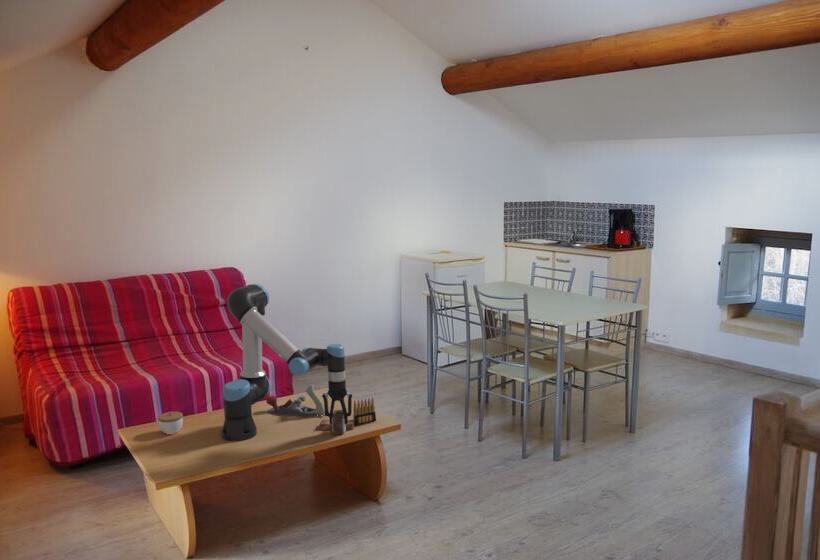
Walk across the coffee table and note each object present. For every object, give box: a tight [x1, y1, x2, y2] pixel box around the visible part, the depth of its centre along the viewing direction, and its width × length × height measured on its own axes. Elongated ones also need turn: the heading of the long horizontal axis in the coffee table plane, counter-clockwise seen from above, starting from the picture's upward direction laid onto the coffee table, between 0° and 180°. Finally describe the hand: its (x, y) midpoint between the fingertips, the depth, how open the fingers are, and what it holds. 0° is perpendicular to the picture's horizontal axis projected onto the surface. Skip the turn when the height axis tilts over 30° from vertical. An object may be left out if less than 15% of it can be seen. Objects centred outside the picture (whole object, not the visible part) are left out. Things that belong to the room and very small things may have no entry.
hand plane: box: [266, 383, 326, 418], centre depth 340 cm, size 7×31×15 cm, turn 73°
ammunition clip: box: [352, 396, 377, 427], centre depth 324 cm, size 11×2×12 cm, turn 119°
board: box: [318, 419, 355, 430], centre depth 320 cm, size 15×6×2 cm, turn 86°
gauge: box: [332, 408, 344, 435], centre depth 315 cm, size 4×10×10 cm, turn 176°
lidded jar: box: [157, 411, 184, 434], centre depth 319 cm, size 11×11×9 cm
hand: (339, 430), depth 314 cm, fingers closed on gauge, 4 cm apart
